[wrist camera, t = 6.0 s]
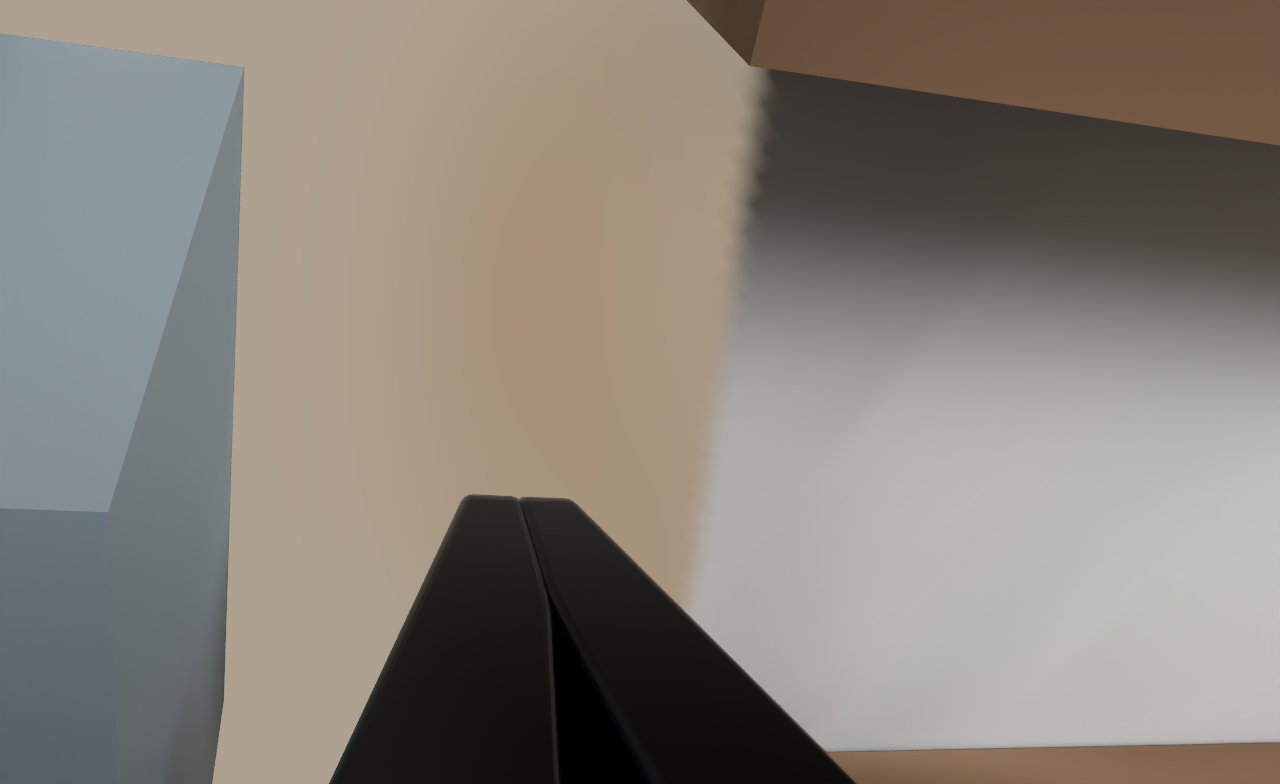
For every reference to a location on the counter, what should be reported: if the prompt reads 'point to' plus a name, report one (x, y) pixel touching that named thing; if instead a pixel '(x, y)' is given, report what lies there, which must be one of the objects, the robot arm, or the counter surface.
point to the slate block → (115, 410)
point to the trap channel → (1067, 83)
